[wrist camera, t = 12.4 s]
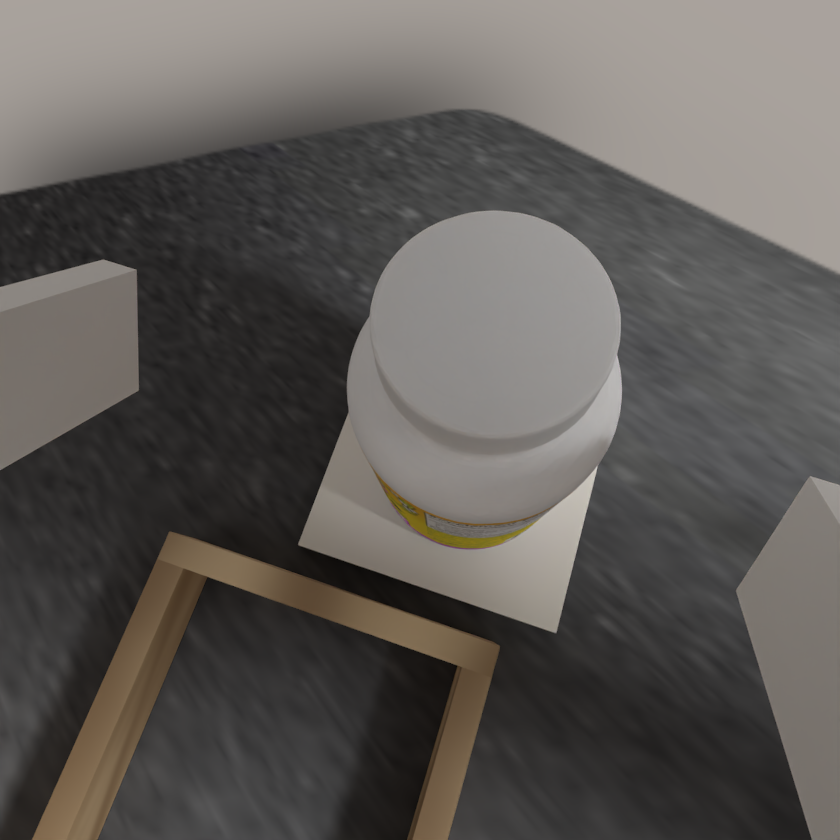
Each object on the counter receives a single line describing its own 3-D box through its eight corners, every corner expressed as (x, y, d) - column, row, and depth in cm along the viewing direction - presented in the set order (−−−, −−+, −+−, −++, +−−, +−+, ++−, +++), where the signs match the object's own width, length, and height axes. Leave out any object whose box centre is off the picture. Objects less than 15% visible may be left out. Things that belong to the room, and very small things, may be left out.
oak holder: (493, 641, 22) (500, 646, 20) (385, 1030, 19) (378, 1093, 16) (196, 538, 23) (169, 531, 21) (47, 884, 20) (-5, 921, 18)
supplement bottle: (385, 384, 24) (329, 161, 12) (549, 387, 24) (661, 161, 12) (377, 551, 22) (301, 487, 10) (555, 556, 22) (698, 496, 10)
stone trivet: (613, 389, 25) (617, 384, 24) (552, 632, 22) (556, 633, 21) (386, 323, 26) (385, 316, 25) (301, 546, 23) (297, 545, 23)
